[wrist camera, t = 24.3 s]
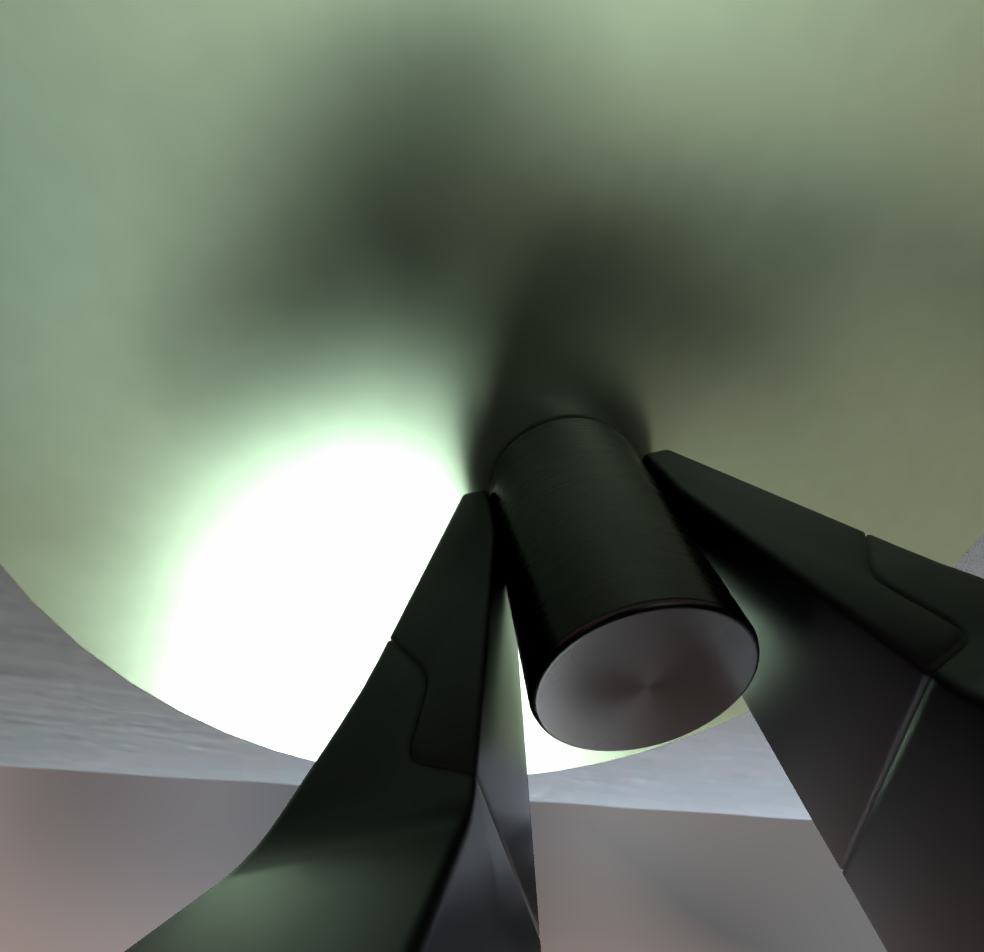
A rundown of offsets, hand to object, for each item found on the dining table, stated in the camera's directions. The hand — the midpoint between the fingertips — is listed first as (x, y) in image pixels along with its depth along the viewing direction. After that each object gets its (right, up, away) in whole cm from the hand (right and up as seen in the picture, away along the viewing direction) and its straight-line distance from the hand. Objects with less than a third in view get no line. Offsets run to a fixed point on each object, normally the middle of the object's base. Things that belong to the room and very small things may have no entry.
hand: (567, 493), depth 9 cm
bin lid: (0, 0, +1) cm, 1 cm away
